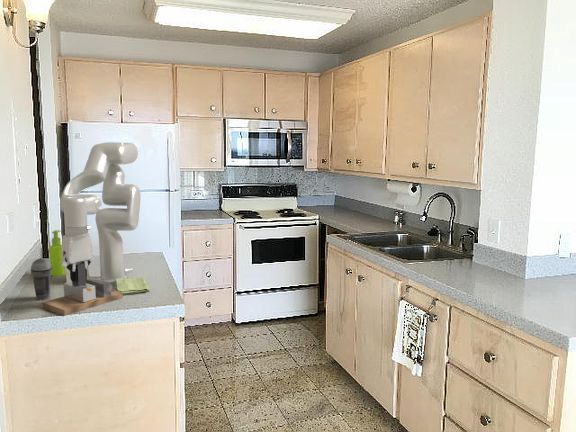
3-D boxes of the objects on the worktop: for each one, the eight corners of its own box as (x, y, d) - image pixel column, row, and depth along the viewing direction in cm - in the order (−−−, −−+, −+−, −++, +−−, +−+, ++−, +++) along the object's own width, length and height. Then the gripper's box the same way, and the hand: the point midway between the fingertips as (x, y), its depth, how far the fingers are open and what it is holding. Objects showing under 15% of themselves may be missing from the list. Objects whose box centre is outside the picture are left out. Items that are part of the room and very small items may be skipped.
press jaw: (76, 293, 183) (74, 259, 181) (98, 299, 175) (96, 265, 173) (64, 296, 178) (62, 262, 177) (85, 303, 171) (84, 267, 169)
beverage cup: (48, 294, 188) (45, 244, 185) (57, 298, 184) (54, 247, 181) (29, 298, 183) (25, 247, 180) (37, 302, 178) (34, 250, 175)
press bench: (100, 291, 193) (99, 274, 192) (122, 297, 185) (122, 280, 184) (42, 307, 173) (41, 288, 172) (64, 315, 165) (63, 295, 164)
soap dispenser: (68, 272, 221) (65, 229, 218) (61, 276, 214) (59, 232, 211) (55, 272, 221) (52, 229, 218) (48, 276, 214) (45, 232, 211)
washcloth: (116, 297, 187) (116, 289, 186) (113, 285, 202) (112, 278, 202) (151, 293, 192) (150, 285, 191) (145, 282, 208) (144, 275, 207)
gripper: (90, 227, 182) (92, 273, 185) (48, 233, 169) (51, 283, 172) (102, 229, 178) (104, 276, 181) (61, 235, 165) (64, 287, 167)
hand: (78, 279), depth 176 cm, fingers closed on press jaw, 3 cm apart
